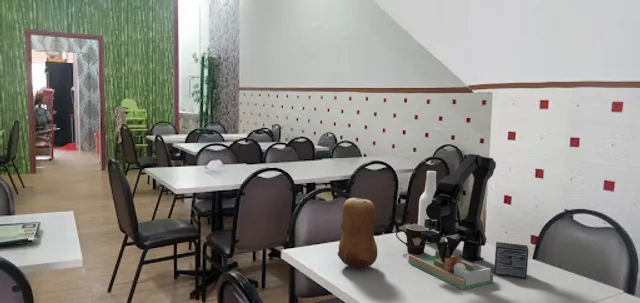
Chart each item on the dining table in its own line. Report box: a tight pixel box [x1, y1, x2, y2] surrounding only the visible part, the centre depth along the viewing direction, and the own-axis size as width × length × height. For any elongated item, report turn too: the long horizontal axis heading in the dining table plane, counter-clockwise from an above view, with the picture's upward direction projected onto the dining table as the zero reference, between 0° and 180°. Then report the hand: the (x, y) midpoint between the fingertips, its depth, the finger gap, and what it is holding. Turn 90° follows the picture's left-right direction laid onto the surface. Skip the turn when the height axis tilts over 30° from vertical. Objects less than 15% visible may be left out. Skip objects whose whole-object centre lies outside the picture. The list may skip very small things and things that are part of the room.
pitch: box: [407, 249, 494, 290], centre depth 170 cm, size 14×27×5 cm, turn 29°
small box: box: [493, 241, 530, 280], centre depth 170 cm, size 11×6×10 cm, turn 71°
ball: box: [453, 263, 466, 271], centre depth 166 cm, size 4×4×4 cm
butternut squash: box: [337, 197, 378, 270], centre depth 171 cm, size 14×13×25 cm
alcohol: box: [417, 170, 439, 244], centre depth 206 cm, size 9×9×30 cm
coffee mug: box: [395, 224, 428, 256], centre depth 192 cm, size 12×9×10 cm
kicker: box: [434, 247, 462, 272], centre depth 171 cm, size 6×8×7 cm
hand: (445, 258), depth 172 cm, fingers closed on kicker, 3 cm apart
